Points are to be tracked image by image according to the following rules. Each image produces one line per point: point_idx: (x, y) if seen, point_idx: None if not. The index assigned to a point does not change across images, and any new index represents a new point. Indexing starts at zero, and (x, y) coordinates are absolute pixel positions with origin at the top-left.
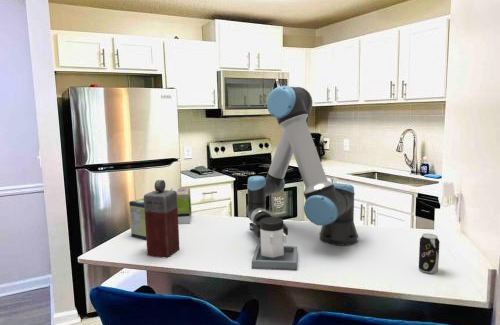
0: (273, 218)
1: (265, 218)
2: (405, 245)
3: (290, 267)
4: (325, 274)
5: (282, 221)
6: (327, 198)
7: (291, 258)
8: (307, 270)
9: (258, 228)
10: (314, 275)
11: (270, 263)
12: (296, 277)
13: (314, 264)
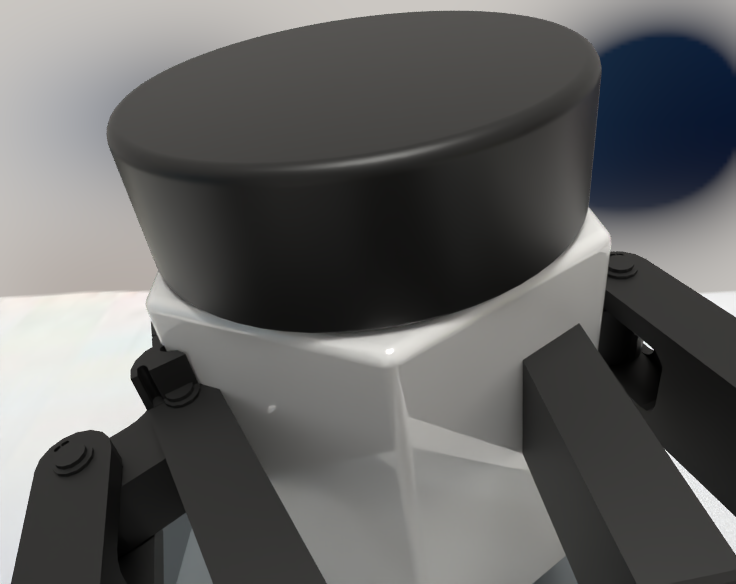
0: (302, 115)
1: (506, 88)
2: None
3: None
4: (27, 380)
5: (146, 83)
6: None
7: (198, 580)
8: (125, 410)
9: (687, 338)
10: (107, 357)
11: None
12: None
13: (12, 522)
